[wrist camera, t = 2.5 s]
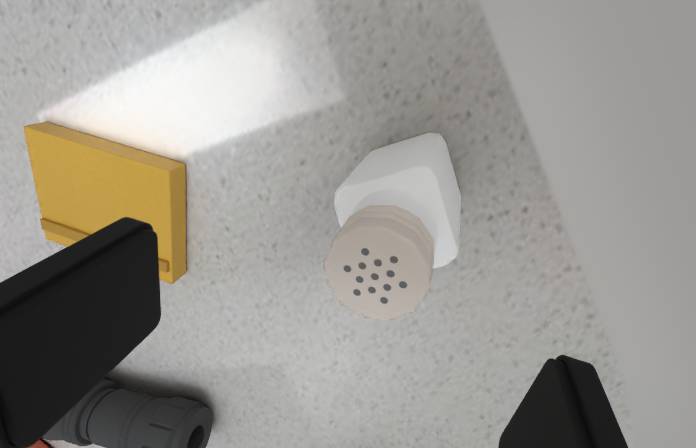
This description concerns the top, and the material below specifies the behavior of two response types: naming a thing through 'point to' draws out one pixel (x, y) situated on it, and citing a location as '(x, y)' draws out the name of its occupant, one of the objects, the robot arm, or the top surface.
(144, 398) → the flashlight
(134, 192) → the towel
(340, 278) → the salt shaker
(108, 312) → the robot arm
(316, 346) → the top surface
